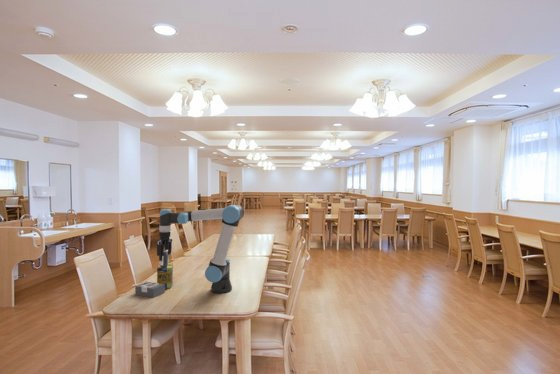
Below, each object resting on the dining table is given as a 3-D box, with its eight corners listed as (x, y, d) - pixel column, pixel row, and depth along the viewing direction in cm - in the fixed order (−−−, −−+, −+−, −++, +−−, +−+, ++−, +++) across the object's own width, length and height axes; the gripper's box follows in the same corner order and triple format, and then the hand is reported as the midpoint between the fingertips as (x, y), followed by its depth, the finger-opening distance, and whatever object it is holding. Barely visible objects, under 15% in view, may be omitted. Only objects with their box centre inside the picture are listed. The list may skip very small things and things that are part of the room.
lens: (168, 266, 232) (169, 249, 232) (164, 268, 228) (164, 250, 228) (163, 265, 234) (164, 248, 234) (158, 267, 230) (159, 250, 230)
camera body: (165, 292, 233) (165, 283, 233) (153, 297, 222) (153, 287, 222) (147, 289, 239) (147, 280, 239) (134, 294, 227) (134, 285, 227)
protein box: (156, 289, 240) (157, 268, 240) (158, 283, 255) (158, 263, 255) (171, 288, 243) (172, 267, 243) (172, 282, 258) (173, 262, 258)
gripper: (169, 229, 241) (168, 261, 241) (151, 232, 224) (150, 266, 224) (177, 230, 238) (176, 262, 238) (160, 233, 221) (159, 267, 221)
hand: (164, 264), depth 231 cm, fingers closed on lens, 5 cm apart
